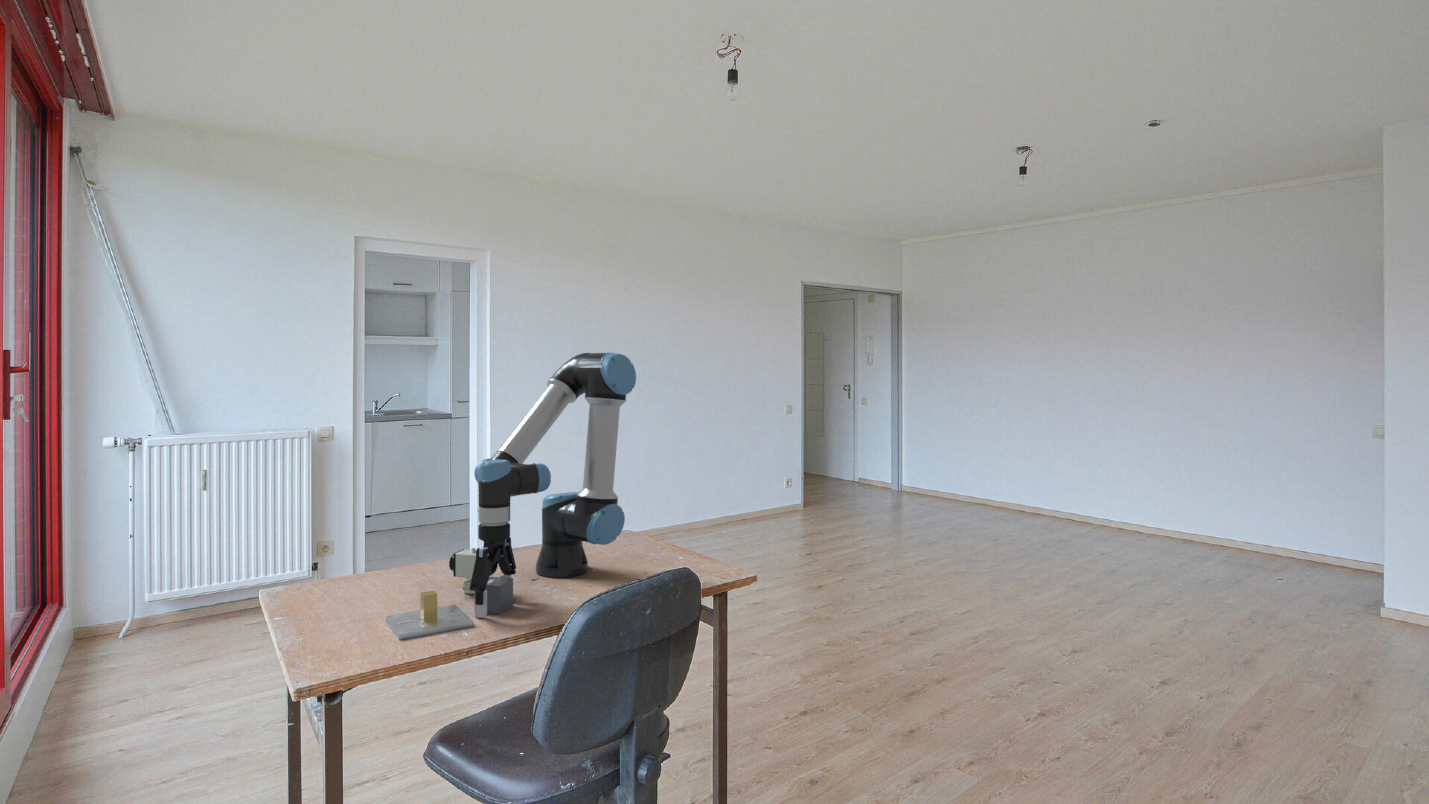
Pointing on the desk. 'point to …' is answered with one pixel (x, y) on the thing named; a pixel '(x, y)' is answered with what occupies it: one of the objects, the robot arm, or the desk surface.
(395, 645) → the desk surface
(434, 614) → the grey peg base
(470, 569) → the pneumatic valve
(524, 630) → the desk surface
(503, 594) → the grey cabinet with handle
